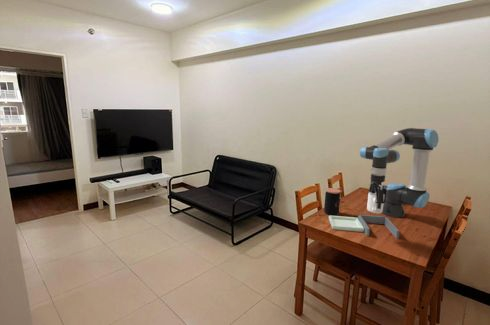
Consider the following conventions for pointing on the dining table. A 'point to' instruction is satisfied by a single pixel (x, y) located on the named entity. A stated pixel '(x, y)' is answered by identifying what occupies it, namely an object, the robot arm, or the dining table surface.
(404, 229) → the dining table surface
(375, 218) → the bay
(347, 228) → the tray
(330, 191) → the coffee jar
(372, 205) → the mug
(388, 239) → the dining table surface
